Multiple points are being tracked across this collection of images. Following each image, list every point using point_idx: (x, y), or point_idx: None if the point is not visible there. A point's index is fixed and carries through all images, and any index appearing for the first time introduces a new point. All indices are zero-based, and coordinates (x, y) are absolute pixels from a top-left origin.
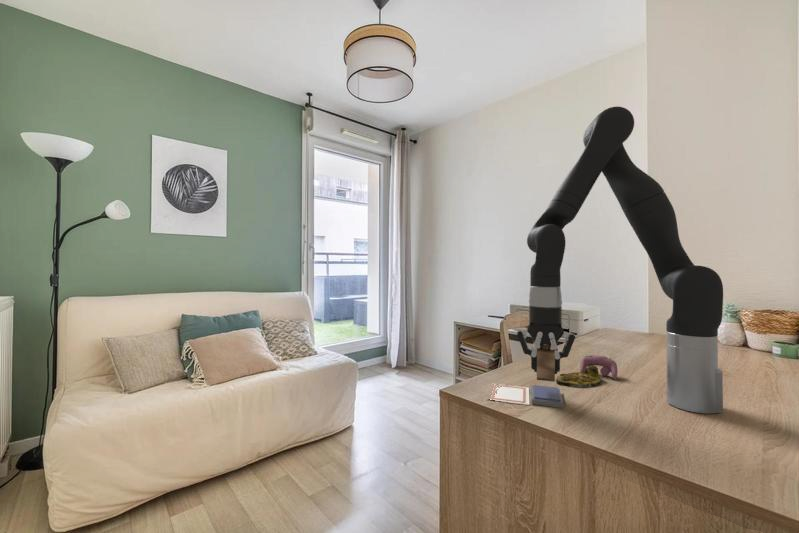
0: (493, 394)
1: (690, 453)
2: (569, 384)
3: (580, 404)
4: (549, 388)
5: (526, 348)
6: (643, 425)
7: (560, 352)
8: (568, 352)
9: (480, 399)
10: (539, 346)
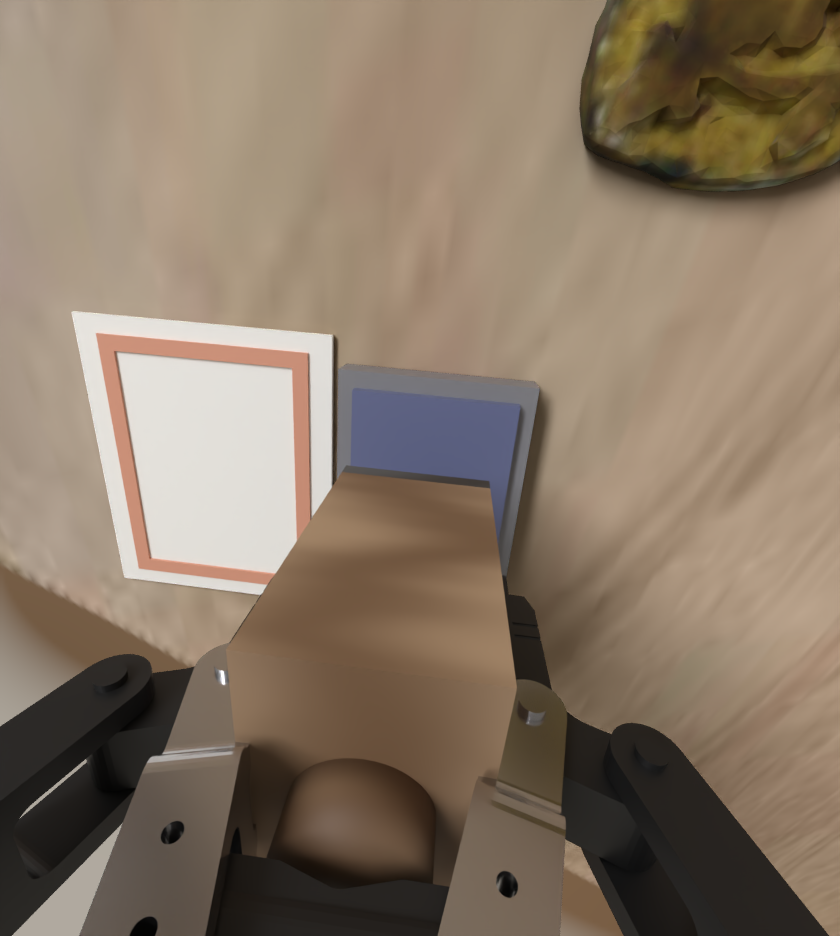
0: (138, 515)
1: (816, 857)
2: (677, 179)
3: (607, 543)
4: (458, 443)
5: (103, 825)
6: (803, 714)
7: (572, 819)
8: (667, 902)
9: (97, 571)
10: (278, 671)
